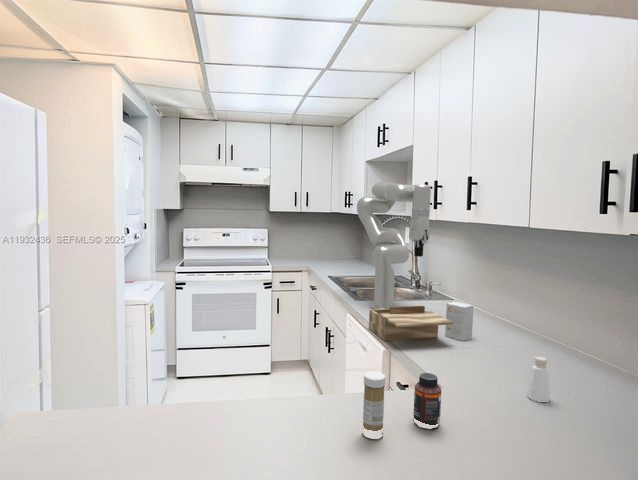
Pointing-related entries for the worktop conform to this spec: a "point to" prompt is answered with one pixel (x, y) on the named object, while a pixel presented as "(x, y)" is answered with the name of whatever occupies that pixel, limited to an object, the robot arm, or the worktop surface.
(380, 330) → the mailer box
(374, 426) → the sprinkles bottle
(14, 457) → the worktop surface
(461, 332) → the small box
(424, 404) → the supplement bottle
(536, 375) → the pepper shaker
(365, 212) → the robot arm
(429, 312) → the mailer lid
